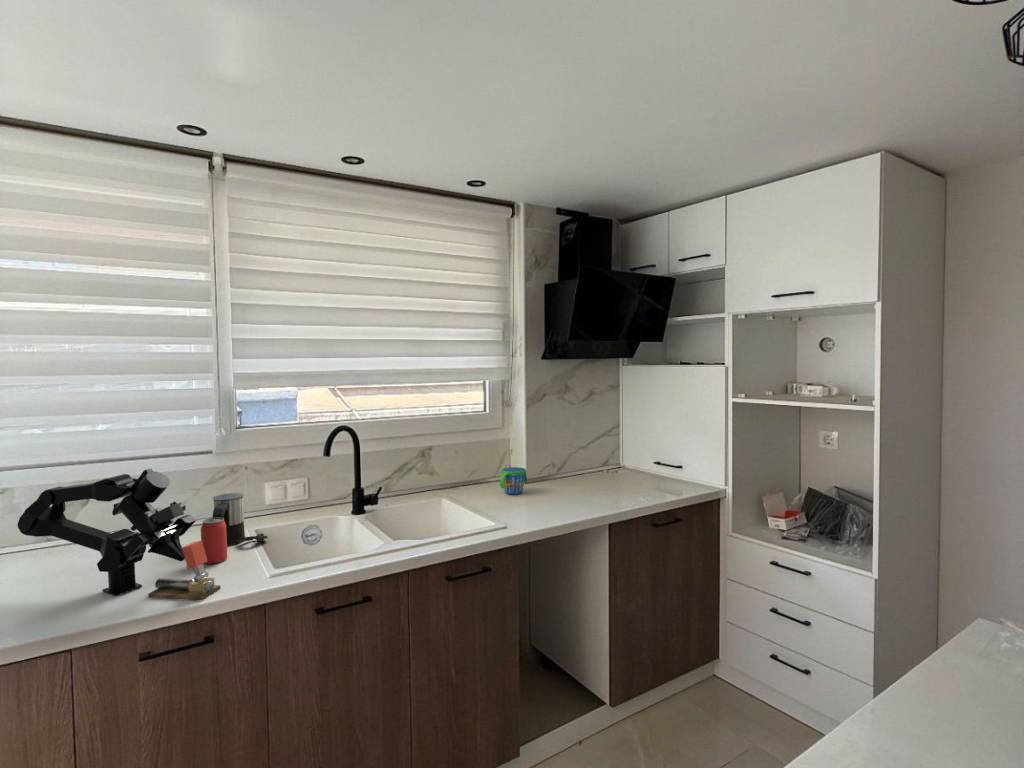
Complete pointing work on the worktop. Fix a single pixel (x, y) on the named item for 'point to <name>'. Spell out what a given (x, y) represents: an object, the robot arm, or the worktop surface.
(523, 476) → the snack cup
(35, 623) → the worktop surface
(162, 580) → the valve body
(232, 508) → the milk frother
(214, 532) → the beer can
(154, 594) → the walnut board
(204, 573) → the valve lever
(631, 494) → the worktop surface
